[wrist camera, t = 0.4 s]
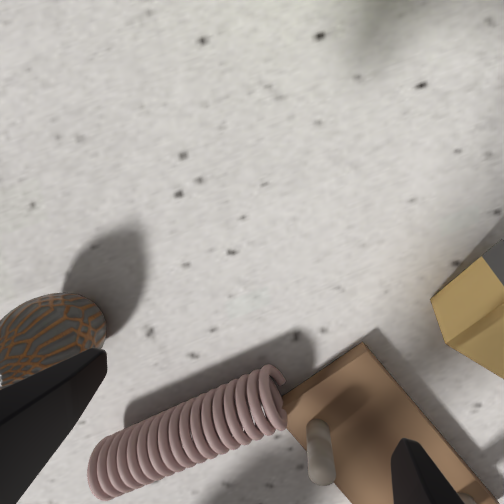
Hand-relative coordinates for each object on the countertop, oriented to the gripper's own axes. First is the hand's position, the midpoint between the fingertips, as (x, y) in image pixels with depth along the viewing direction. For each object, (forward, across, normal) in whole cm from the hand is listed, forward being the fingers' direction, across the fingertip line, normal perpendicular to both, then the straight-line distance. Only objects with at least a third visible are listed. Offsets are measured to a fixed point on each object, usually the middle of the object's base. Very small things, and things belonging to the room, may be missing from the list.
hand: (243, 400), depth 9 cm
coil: (+12, +4, +17) cm, 21 cm away
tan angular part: (+12, -15, -2) cm, 19 cm away
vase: (+13, +16, +11) cm, 24 cm away
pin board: (+12, -12, +15) cm, 23 cm away
